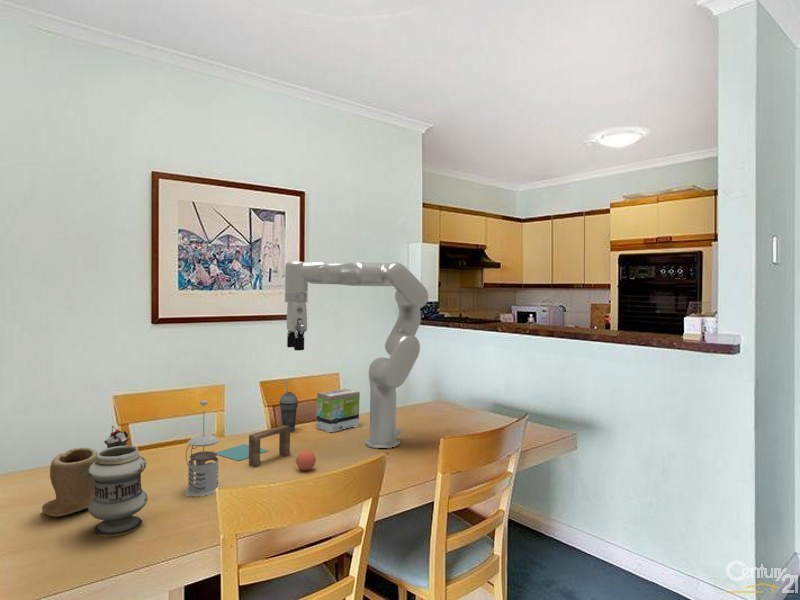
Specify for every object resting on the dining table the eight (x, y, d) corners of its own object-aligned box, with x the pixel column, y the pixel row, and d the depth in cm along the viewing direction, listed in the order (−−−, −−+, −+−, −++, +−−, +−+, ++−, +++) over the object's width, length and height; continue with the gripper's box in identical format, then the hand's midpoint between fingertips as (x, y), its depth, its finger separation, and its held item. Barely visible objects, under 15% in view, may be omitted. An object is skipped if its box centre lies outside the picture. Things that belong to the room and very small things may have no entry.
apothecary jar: (77, 530, 117) (77, 452, 116) (128, 511, 127) (129, 439, 127) (106, 544, 110) (106, 462, 110) (157, 523, 120) (158, 448, 120)
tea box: (331, 433, 199) (332, 396, 199) (315, 428, 206) (316, 392, 206) (359, 426, 210) (360, 391, 210) (343, 422, 217) (344, 387, 217)
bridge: (248, 465, 161) (249, 435, 161) (283, 453, 174) (283, 425, 174) (255, 467, 160) (255, 436, 160) (289, 455, 172) (290, 426, 172)
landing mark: (244, 444, 183) (244, 443, 183) (269, 450, 176) (269, 450, 176) (213, 453, 172) (213, 453, 172) (238, 461, 165) (238, 460, 165)
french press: (199, 499, 134) (199, 405, 134) (172, 490, 141) (173, 400, 140) (229, 488, 143) (230, 399, 142) (203, 479, 149) (203, 394, 149)
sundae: (103, 479, 148) (103, 428, 148) (104, 471, 154) (104, 422, 154) (128, 475, 151) (129, 425, 151) (129, 468, 157) (129, 420, 157)
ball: (305, 465, 162) (305, 446, 162) (319, 469, 159) (319, 449, 159) (291, 470, 157) (292, 451, 157) (306, 474, 154) (306, 454, 154)
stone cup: (55, 525, 119) (55, 462, 118) (36, 512, 126) (36, 452, 126) (122, 504, 131) (122, 446, 131) (101, 493, 138) (101, 438, 138)
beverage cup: (293, 434, 197) (293, 383, 197) (275, 433, 198) (276, 382, 198) (300, 429, 204) (301, 380, 204) (283, 428, 205) (284, 379, 205)
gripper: (314, 298, 165) (313, 351, 166) (300, 297, 181) (299, 345, 181) (291, 298, 162) (290, 351, 162) (279, 297, 178) (278, 346, 178)
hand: (295, 348), depth 172 cm, fingers open, 9 cm apart
